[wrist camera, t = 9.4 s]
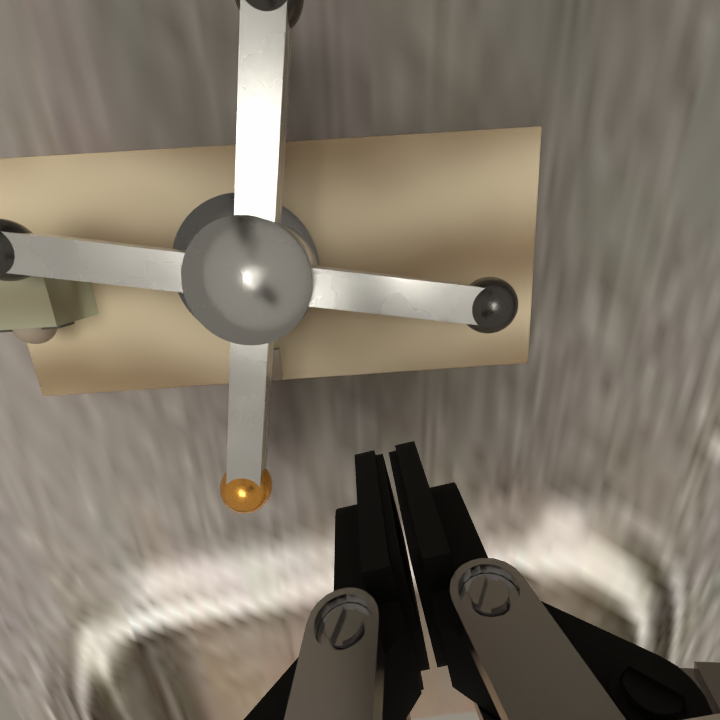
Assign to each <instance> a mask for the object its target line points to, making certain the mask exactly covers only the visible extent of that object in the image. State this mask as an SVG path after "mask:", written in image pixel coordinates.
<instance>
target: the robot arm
mask: <svg viewBox="0 0 720 720" xmlns="http://www.w3.org/2000/svg"><path fill="white" fill-rule="evenodd" d="M395 447H396V451H393V452H389V457H390V461H391V466H392V471H393V476H394V481H395V486H396V491H397V496H398V501H399V506H400V511H401V515H402V520H403V525H404V530H405V535H406V540H407V545H408V550H409V554H410V559H411V563H412V568H413V572H414V576H415V580H416V584H417V588H418V592H419V596H420V600H421V604H422V608H423V612H424V615H425V619H426V623H427V627H428V631H429V635H430V639H431V643H432V647H433V651H434V655H435V659H436V663H437V667H442V666H446V665H448V669H449V673H450V678H451V682H452V686H453V687H454V688H455V689H456V690H458V691H459V692H461V693H462V694H464V695H465V696H466V697H468V698H469V699H471V700H472V701H473V702H474V704H475V708H476V712H477V714H478V717H479V719H480V720H720V663H715V662H694V669H691V668H679V667H678V666H676V665H674V664H673V663H671V662H669V661H668V660H666V659H664V658H662V657H661V656H659V655H657V654H654V653H652V652H650V651H648V650H646V649H644V648H641V647H639V646H637V645H635V644H633V643H631V642H628V641H626V640H624V639H622V638H620V637H618V636H615V635H613V634H611V633H609V632H607V631H605V630H602V629H600V628H598V627H596V626H594V625H592V624H589V623H587V622H585V621H583V620H581V619H579V618H576V617H574V616H572V615H570V614H568V613H566V612H563V611H561V610H559V609H557V608H555V607H553V606H550V605H548V604H546V603H544V602H542V601H540V599H539V598H538V596H537V595H536V594H535V592H534V591H533V589H532V588H531V587H530V585H529V584H528V582H527V581H526V580H525V578H524V577H523V576H522V575H521V574H520V573H519V572H518V570H517V569H516V568H514V567H513V566H511V565H509V564H508V563H506V562H504V561H500V560H497V559H494V558H488V557H487V554H486V552H485V550H484V547H483V545H482V543H481V540H480V538H479V536H478V534H477V531H476V529H475V527H474V524H473V522H472V520H471V517H470V515H469V513H468V511H467V508H466V506H465V504H464V501H463V499H462V497H461V494H460V492H459V490H458V488H457V486H456V484H455V483H449V484H445V485H440V486H436V487H431V488H429V485H428V482H427V479H426V476H425V473H424V470H423V467H422V464H421V461H420V457H419V454H418V451H417V448H416V445H415V442H414V441H412V442H408V443H404V444H399V445H395ZM355 469H356V487H357V505H352V506H348V507H343V508H339V509H337V510H336V516H335V564H334V591H333V592H332V593H330V594H328V595H326V596H325V597H324V598H323V599H321V600H320V601H319V602H318V603H317V604H316V606H315V607H314V608H313V610H312V611H311V613H310V616H309V618H308V621H307V624H306V628H305V632H304V636H303V641H302V645H301V649H300V653H299V657H298V658H297V659H296V661H295V662H294V663H293V664H292V665H291V666H290V667H289V669H288V670H287V671H286V672H285V673H284V674H283V675H282V677H281V678H280V679H279V680H278V681H277V682H276V683H275V685H274V686H273V687H272V688H271V689H270V690H269V691H268V693H267V694H266V695H265V696H264V697H263V698H262V699H261V701H260V702H259V703H258V704H257V705H256V706H255V707H254V709H253V710H252V711H251V712H250V713H249V714H248V715H247V717H246V718H245V719H244V720H411V717H410V711H411V710H412V708H413V706H414V705H415V703H416V702H417V700H418V698H419V697H420V695H421V690H423V689H424V688H423V682H422V676H421V671H423V670H427V669H430V668H429V662H428V657H427V652H426V647H425V642H424V637H423V632H422V627H421V621H420V616H419V611H418V606H417V601H416V596H415V591H414V586H413V581H412V576H411V571H410V566H409V561H408V556H407V550H406V545H405V541H404V536H403V532H402V528H401V524H400V520H399V516H398V512H397V508H396V504H395V500H394V496H393V492H392V488H391V484H390V480H389V476H388V472H387V469H386V465H385V461H384V457H383V454H380V455H375V452H374V451H369V452H365V453H361V454H356V455H355Z"/></svg>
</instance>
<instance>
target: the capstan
mask: <svg viewBox="0 0 720 720" xmlns="http://www.w3.org/2000/svg"><path fill="white" fill-rule="evenodd" d="M235 1H236V4H237V6H238V9H239V11H240V26H239V60H238V95H237V129H236V163H235V193H227V194H222V195H218V196H216V197H213V198H211V199H209V200H207V201H205V202H203V203H202V204H200V205H199V206H198V207H196V208H195V209H194V210H193V211H192V212H191V213H190V214H189V215H188V216H187V217H186V219H185V220H184V221H183V223H182V224H181V226H180V228H179V230H178V232H177V234H176V237H175V240H174V243H173V248H172V249H170V248H161V247H152V246H144V245H135V244H127V243H118V242H110V241H101V240H93V239H84V238H76V237H67V236H58V235H50V234H41V233H33V232H31V231H30V230H29V229H28V228H26V227H25V226H23V225H21V224H19V223H17V222H14V221H11V220H7V219H0V280H1V281H19V280H23V279H26V278H28V277H30V276H37V277H46V278H55V279H64V280H73V281H82V282H91V283H101V284H110V285H119V286H128V287H137V288H146V289H155V290H164V291H173V292H178V294H179V296H180V298H181V300H182V301H183V303H184V305H185V306H186V308H187V309H188V310H189V311H190V313H191V314H192V315H193V316H194V317H195V318H196V319H197V320H198V321H199V322H200V323H201V324H202V325H203V326H204V327H205V328H206V329H207V330H209V331H210V332H211V333H213V334H214V335H216V336H218V337H219V338H221V339H224V340H226V341H228V342H230V370H229V405H228V439H227V471H226V473H225V474H224V476H223V478H222V480H221V484H220V494H221V497H222V500H223V502H224V503H225V505H226V506H227V507H228V508H230V509H231V510H233V511H235V512H238V513H250V512H254V511H256V510H258V509H259V508H261V507H262V506H263V505H264V504H265V503H266V502H267V500H268V499H269V497H270V494H271V491H272V479H271V475H270V473H269V472H268V470H267V469H266V466H267V449H268V432H269V415H270V399H271V382H272V365H273V348H274V341H276V340H278V339H279V338H281V337H283V336H285V335H286V334H287V333H289V332H290V331H291V330H292V329H293V328H294V327H295V326H296V325H297V324H298V323H299V322H300V321H301V319H302V318H303V317H304V316H305V315H306V313H307V312H308V310H309V308H310V307H318V308H327V309H336V310H345V311H354V312H363V313H373V314H382V315H391V316H400V317H409V318H418V319H427V320H436V321H445V322H454V323H463V324H466V325H467V326H469V327H470V328H471V329H473V330H475V331H477V332H480V333H487V334H489V333H496V332H499V331H501V330H503V329H505V328H506V327H507V326H509V325H510V324H511V322H512V321H513V320H514V318H515V316H516V314H517V311H518V297H517V294H516V292H515V290H514V289H513V287H512V286H511V285H510V284H509V283H508V282H506V281H504V280H502V279H500V278H497V277H483V278H480V279H477V280H475V281H473V282H472V283H471V284H469V283H460V282H452V281H443V280H434V279H426V278H417V277H409V276H400V275H392V274H383V273H375V272H366V271H358V270H349V269H340V268H332V267H323V266H320V260H319V255H318V251H317V248H316V245H315V242H314V240H313V238H312V236H311V234H310V232H309V231H308V229H307V228H306V226H305V225H304V224H303V223H302V221H301V220H300V219H299V218H298V217H297V216H296V215H295V214H294V213H292V212H291V211H290V210H289V209H287V208H286V207H284V206H283V205H282V197H283V181H284V164H285V147H286V130H287V113H288V97H289V80H290V63H291V46H292V30H293V26H294V25H295V24H296V23H297V21H298V19H299V17H300V15H301V12H302V8H303V3H304V0H235Z"/></svg>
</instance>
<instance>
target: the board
mask: <svg viewBox="0 0 720 720" xmlns="http://www.w3.org/2000/svg"><path fill="white" fill-rule="evenodd" d="M541 127H542V126H539V127H522V128H506V129H489V130H472V131H455V132H439V133H422V134H405V135H389V136H372V137H355V138H339V139H322V140H305V141H288V142H286V147H285V164H284V181H283V197H282V205H283V206H284V207H286V208H287V209H289V210H290V211H291V212H292V213H294V214H295V215H296V216H297V217H298V218H299V219H300V220H301V221H302V223H303V224H304V225H305V226H306V228H307V229H308V231H309V232H310V234H311V236H312V238H313V240H314V242H315V245H316V248H317V251H318V255H319V260H320V266H323V267H332V268H340V269H349V270H358V271H366V272H375V273H383V274H392V275H400V276H409V277H417V278H426V279H434V280H443V281H452V282H460V283H469V284H471V283H472V282H473V281H475V280H477V279H480V278H483V277H497V278H500V279H502V280H504V281H506V282H508V283H509V284H510V285H511V286H512V287H513V289H514V290H515V292H516V294H517V297H518V311H517V314H516V316H515V318H514V320H513V321H512V322H511V324H510V325H509V326H507V327H506V328H505V329H503V330H501V331H499V332H496V333H489V334H487V333H480V332H477V331H475V330H473V329H471V328H470V327H469V326H467V325H466V324H463V323H454V322H445V321H436V320H427V319H418V318H409V317H400V316H391V315H382V314H373V313H363V312H354V311H345V310H336V309H327V308H318V307H310V308H309V310H308V312H307V313H306V315H305V316H304V317H303V318H302V319H301V321H300V322H299V323H298V324H297V325H296V326H295V327H294V328H293V329H292V330H291V331H290V332H289V333H287V334H286V335H285V336H283V337H281V338H279V339H278V340H276V341H274V348H273V365H272V381H280V380H286V379H300V378H315V377H329V376H343V375H358V374H372V373H387V372H401V371H416V370H430V369H445V368H459V367H474V366H488V365H503V364H517V363H528V350H529V333H530V315H531V298H532V281H533V264H534V247H535V230H536V213H537V196H538V178H539V161H540V144H541ZM235 163H236V145H222V146H205V147H188V148H172V149H155V150H138V151H121V152H105V153H88V154H71V155H55V156H38V157H21V158H5V159H0V219H7V220H11V221H14V222H17V223H19V224H21V225H23V226H25V227H26V228H28V229H29V230H30V231H31V232H33V233H41V234H50V235H58V236H67V237H76V238H84V239H93V240H101V241H110V242H118V243H127V244H135V245H144V246H152V247H161V248H170V249H172V248H173V243H174V240H175V237H176V234H177V232H178V230H179V228H180V226H181V224H182V223H183V221H184V220H185V219H186V217H187V216H188V215H189V214H190V213H191V212H192V211H193V210H194V209H195V208H196V207H198V206H199V205H200V204H202V203H203V202H205V201H207V200H209V199H211V198H213V197H216V196H218V195H222V194H227V193H235ZM0 332H13V333H14V334H15V336H16V337H17V338H19V339H20V340H22V341H24V342H26V343H27V344H28V348H29V351H30V354H31V358H32V361H33V364H34V368H35V371H36V374H37V378H38V381H39V384H40V387H41V391H42V394H43V396H54V395H68V394H83V393H97V392H112V391H126V390H141V389H155V388H170V387H184V386H199V385H213V384H228V383H229V370H230V342H228V341H226V340H224V339H221V338H219V337H218V336H216V335H214V334H213V333H211V332H210V331H209V330H207V329H206V328H205V327H204V326H203V325H202V324H201V323H200V322H199V321H198V320H197V319H196V318H195V317H194V316H193V315H192V314H191V313H190V311H189V310H188V309H187V308H186V306H185V305H184V303H183V301H182V300H181V298H180V296H179V294H178V292H173V291H164V290H155V289H146V288H137V287H128V286H119V285H110V284H101V283H91V282H82V281H73V280H64V279H55V278H46V277H37V276H30V277H28V278H26V279H23V280H19V281H1V280H0Z"/></svg>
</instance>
